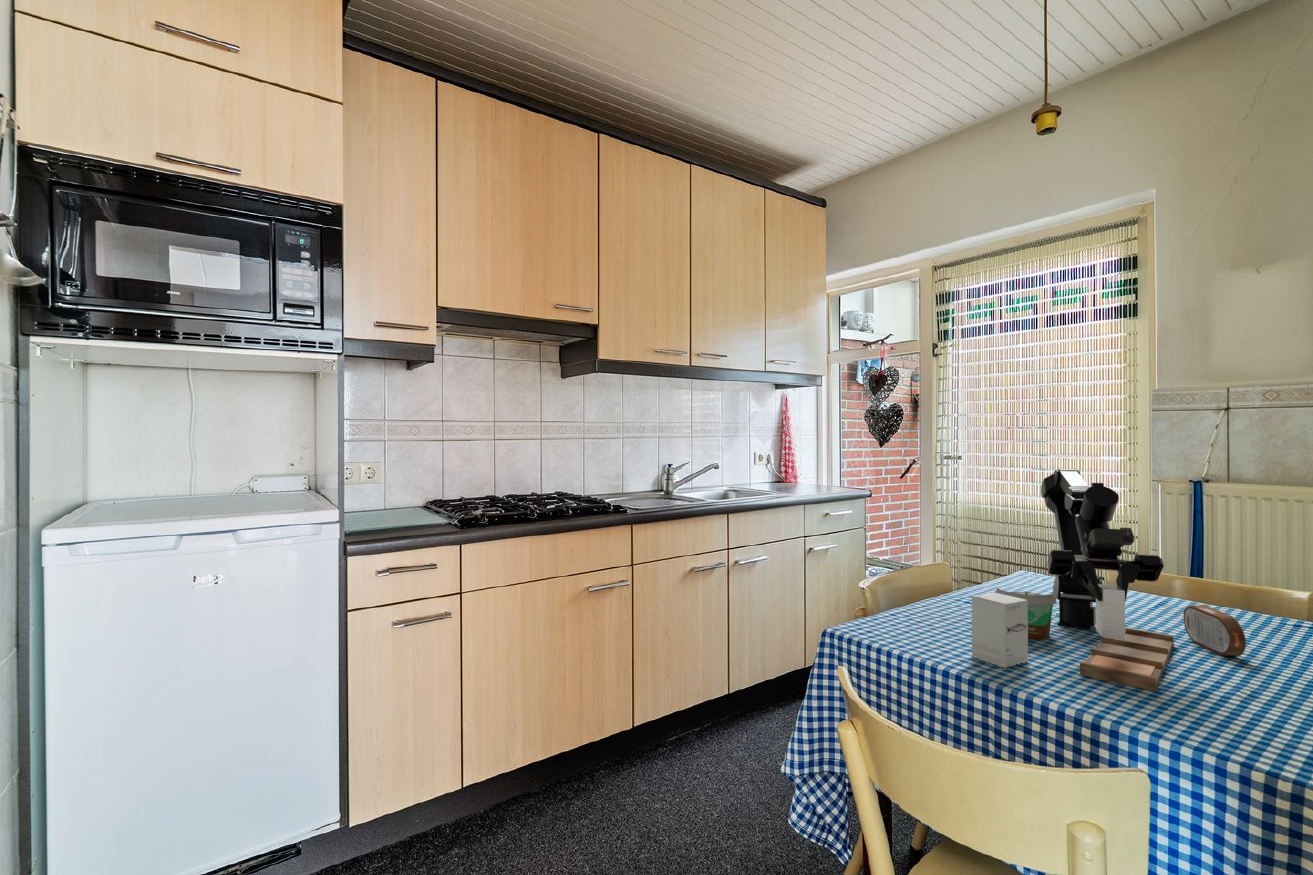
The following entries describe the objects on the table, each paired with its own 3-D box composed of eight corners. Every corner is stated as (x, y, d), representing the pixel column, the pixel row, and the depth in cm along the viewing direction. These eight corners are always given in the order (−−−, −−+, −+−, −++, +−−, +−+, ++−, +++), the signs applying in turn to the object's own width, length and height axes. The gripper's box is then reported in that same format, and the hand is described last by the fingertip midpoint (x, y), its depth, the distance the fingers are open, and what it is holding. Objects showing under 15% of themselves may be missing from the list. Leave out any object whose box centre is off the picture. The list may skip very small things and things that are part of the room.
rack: (1079, 674, 113) (1079, 662, 113) (1110, 634, 137) (1110, 624, 137) (1155, 691, 105) (1155, 678, 105) (1173, 645, 130) (1173, 635, 130)
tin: (1248, 662, 120) (1247, 619, 120) (1229, 661, 120) (1228, 618, 121) (1196, 638, 134) (1196, 600, 135) (1180, 637, 135) (1179, 600, 135)
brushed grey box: (1096, 630, 122) (1095, 583, 123) (1117, 632, 121) (1116, 585, 121) (1103, 637, 118) (1102, 588, 118) (1125, 639, 116) (1124, 590, 117)
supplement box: (1005, 669, 116) (1004, 603, 116) (970, 657, 123) (970, 595, 123) (1029, 663, 119) (1029, 599, 119) (994, 652, 126) (994, 591, 126)
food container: (998, 637, 135) (998, 592, 135) (994, 629, 141) (994, 587, 141) (1063, 644, 131) (1062, 598, 131) (1056, 635, 136) (1055, 591, 136)
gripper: (1049, 511, 127) (1062, 573, 117) (1159, 514, 120) (1183, 581, 110) (1042, 543, 134) (1053, 604, 124) (1145, 548, 127) (1167, 614, 117)
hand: (1112, 600), depth 118 cm, fingers closed on brushed grey box, 3 cm apart
